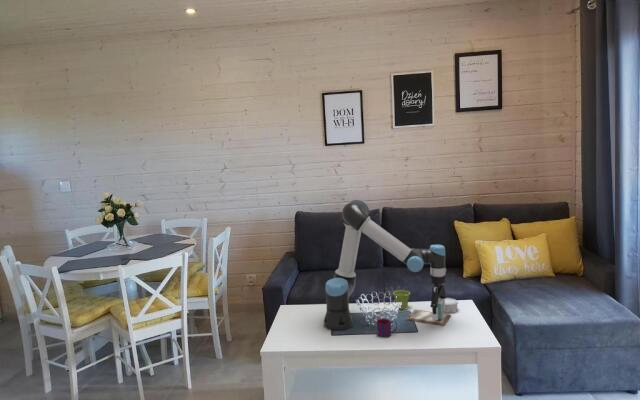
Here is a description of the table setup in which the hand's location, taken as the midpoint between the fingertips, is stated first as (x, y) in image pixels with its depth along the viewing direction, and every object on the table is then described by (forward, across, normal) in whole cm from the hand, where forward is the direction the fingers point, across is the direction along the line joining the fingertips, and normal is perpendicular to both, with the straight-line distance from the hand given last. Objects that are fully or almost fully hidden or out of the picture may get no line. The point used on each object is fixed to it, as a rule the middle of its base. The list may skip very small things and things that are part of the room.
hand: (438, 315), depth 229 cm
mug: (+4, -26, +18) cm, 32 cm away
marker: (+2, 0, 0) cm, 2 cm away
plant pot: (+4, +12, +24) cm, 27 cm away
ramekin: (+4, +18, 0) cm, 18 cm away
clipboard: (+3, +2, +6) cm, 7 cm away
